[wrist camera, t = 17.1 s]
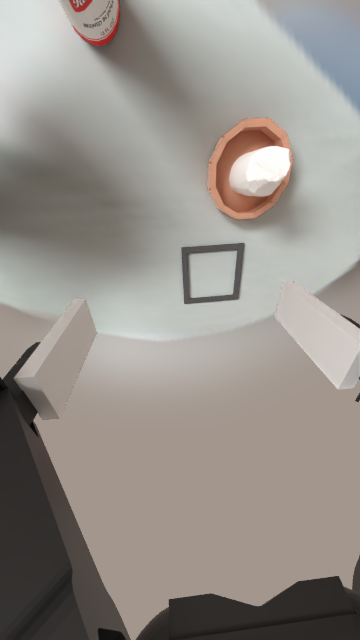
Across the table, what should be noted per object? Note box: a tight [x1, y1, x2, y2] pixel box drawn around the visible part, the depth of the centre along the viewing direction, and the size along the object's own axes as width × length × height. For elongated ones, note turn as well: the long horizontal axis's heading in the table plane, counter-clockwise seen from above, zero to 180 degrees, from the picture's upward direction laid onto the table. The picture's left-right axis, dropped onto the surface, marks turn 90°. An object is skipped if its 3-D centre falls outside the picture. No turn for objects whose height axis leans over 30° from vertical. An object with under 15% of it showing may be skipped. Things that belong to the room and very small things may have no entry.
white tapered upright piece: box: [229, 146, 291, 197], centre depth 29 cm, size 6×12×6 cm
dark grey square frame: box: [182, 243, 244, 304], centre depth 43 cm, size 12×12×1 cm
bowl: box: [207, 118, 293, 219], centre depth 33 cm, size 13×13×3 cm
